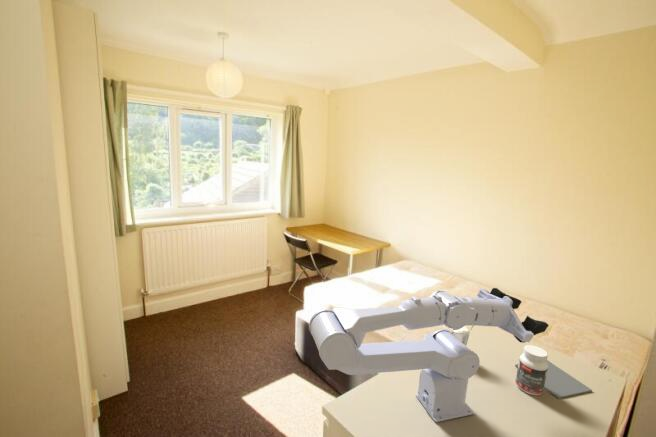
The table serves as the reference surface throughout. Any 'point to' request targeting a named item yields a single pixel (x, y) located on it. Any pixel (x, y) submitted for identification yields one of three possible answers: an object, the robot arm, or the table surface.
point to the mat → (562, 383)
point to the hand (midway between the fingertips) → (531, 315)
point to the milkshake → (462, 334)
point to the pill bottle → (532, 370)
